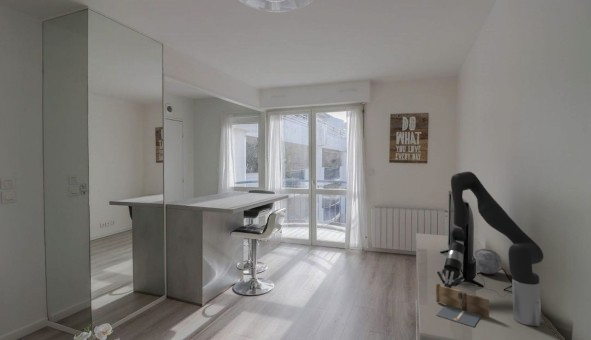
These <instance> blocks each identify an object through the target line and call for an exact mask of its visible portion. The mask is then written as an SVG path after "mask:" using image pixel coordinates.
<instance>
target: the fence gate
mask: <svg viewBox="0 0 591 340" xmlns="http://www.w3.org/2000/svg"><path fill="white" fill-rule="evenodd" d="M435 294H436V295H435V298H436V299H435V300H436V303H440V304H444V305H446V304H447V305H450V306H454V307H457V308H462V306H461V305H462V290H460V289H457V288H452V287H451V288H449V287H444V285H441V284H440V283H435Z"/></svg>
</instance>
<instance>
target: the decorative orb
mask: <svg viewBox="0 0 591 340" xmlns="http://www.w3.org/2000/svg"><path fill="white" fill-rule="evenodd" d="M473 255H474V258H475V259H476V267H475V269H476V270H478V271H479V272H480V273H483V274H487V275H493V274H496V273H498V272H499V271H500V269H501V268H502V259H501V256H500V255H499V254H498V253H497V252H496V251H495V250H492V249H489V248H479V249H478V250H476V251H474V253H473Z"/></svg>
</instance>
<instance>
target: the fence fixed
mask: <svg viewBox="0 0 591 340" xmlns="http://www.w3.org/2000/svg"><path fill="white" fill-rule="evenodd" d="M461 293H462V299H461V305H462V310H464V311H469V312H472V313H476V314H479V315H482V316H481V317H484V318H488V319H489V318H490V300H489V299H490V298H487V297H483V296H479V295H476V294H470V293H467V292H464V291H463V292H462V291H461Z"/></svg>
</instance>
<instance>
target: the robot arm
mask: <svg viewBox="0 0 591 340" xmlns="http://www.w3.org/2000/svg"><path fill="white" fill-rule="evenodd" d="M450 187H451V193H452V202H453V224H454V225H455V226H457V227H452V228H451V229H449V240H450V241H449V248H448V252H447V254H446V258H445V261H444V265H443V268H442V270H441V271H437V272H436V274H437V275H438V277H439V279H440V281H441V283H442V284H444V285H443V286H444V287H449V288H452V287H454V288H455V287H457V286H459V285H460V284H462V283H463V282H464V281H465V278H464V276H462V275H461V269H462V265H463V260H464V255H465V254H464V253H465V250H466V249H465V245H464V244H463V243H465V242H464V241H465V239H466V226H467V224H469V221H470V220H469V218H470V213H469V209H468V207H467V205H466V203H465V202H464V201H465V200H464V199H463V192H464V191H468V190H470V191H471V193H472V194H473V195H474V196H475V198H476V201H477V202H476V203H477V210H478V213H479V215H480V216H481V218H482V219H483V220H484V221H485V222H486V223H487V225H488V226H490V227H491V228H492V229H494V230H496V231H497V232H499V233H500V234H502V235H504V236H505V237H507V238H508V239H509V240H510V242H512V244H511V245H510V246H509V248H508V253H507V255H508V267H509V272H510V274H511V278H512V279H511V282H512V284H511V285H512V290H511V291H512V318H513V320H515V321H516V322H517V323H520V324H523V325H526V326H531V327H532V326H533V327H540V326H541V323H542V311H541V310H542V307H541V306H542V303H541V295H540V293H541V291H540V276H539V275H538V274H537V273H535V272H533V265H535V264H539V263H542V262H543V260H544V252H543V251H542V249H541V247H540V245H538V244H537V242H535V241H534V240H533V239H532V238H531V237H530V236H529V235H528V234H526V233H525V231H523V230H522V229H521V227H520V226H519V225H518V224H517V223H516V222H515V221H514V220H513V219H512V218H511V217H510V216H509V214H508V213H507V212H506V211H505V210H504V209H503V207H502V206H501V204H499V203H498V202H497V201H496V199H494V198H493V196H492V195H491V193H489V191H488V190H487V189H486V187H485V186H484V185H483V183H482V182H481V181H480V179H479V178H478V176H477V175H476V174H475V173H474V172H472V171H463V172H458V173H455V174H453V175H452V176H451V179H450ZM443 275H444V278H443Z"/></svg>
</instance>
